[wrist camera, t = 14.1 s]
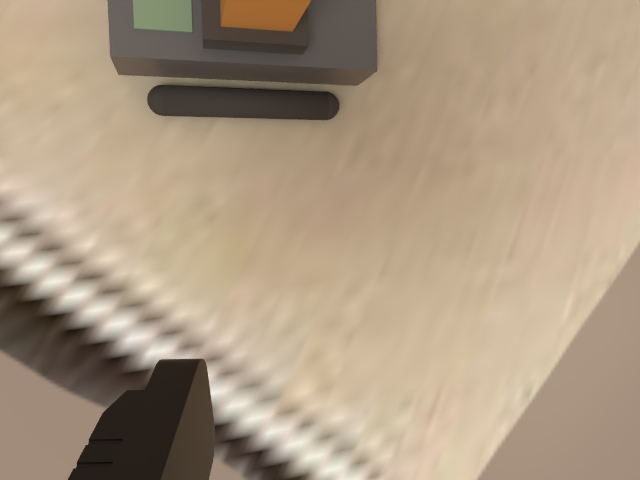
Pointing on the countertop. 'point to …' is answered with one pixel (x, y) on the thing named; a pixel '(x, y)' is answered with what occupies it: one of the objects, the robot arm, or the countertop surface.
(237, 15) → the handle
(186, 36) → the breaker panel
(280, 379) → the countertop surface
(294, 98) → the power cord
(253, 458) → the countertop surface
